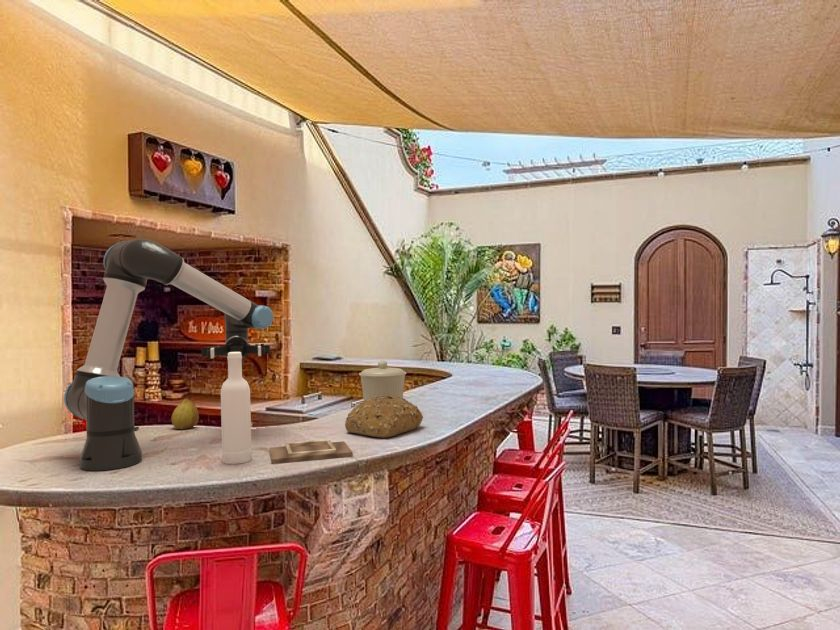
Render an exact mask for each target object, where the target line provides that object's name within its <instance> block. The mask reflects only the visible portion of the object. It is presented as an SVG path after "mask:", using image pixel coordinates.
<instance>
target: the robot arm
mask: <svg viewBox="0 0 840 630" xmlns="http://www.w3.org/2000/svg"><path fill="white" fill-rule="evenodd" d="M103 267H104V269H105V271H104V274H103V279H102V281H104V284H105V285H106V287H105V292H104V295H103V300H102V303H101V307H100V309H99V313H98V316H97V321H96V323H95V325H94V326H95V327H94V331H93V335H92V338H91V340H90V343H89V348H88V352H87V354H86V359H85V362H84V364H83V366H80V367H79V368H77V369H76V372H75V375H74V379H73V381H72V382H70V383H69V385H68V386H67V387H66V389H65V392H64V395H63V402H64V405H65V408H66V409H67V411H68V412H69V413H71V415H73V416H74V417H76V418H78V419H80V420H85V424H86V440H85V443H84V446H83V448H82V451H81V454H80V459H79V468H80V469H81V470H84V471H91V472H92V471H93V472H94V471H95V472H96V471H110V470H111V471H112V470H117V469H122V468H127V467H130V466H134V465H137V464H139V463H141V462H142V461H143V451H142V449H141V447H140V443H139V441H138V438H137V437H136V434H135V431H134V427H135V399H134V398H135V397H134V396H135V390H134V383H133V381H132V380H131V379H130V378H127V377H124V376H121V375H120V374H119V372H118V367H119V363H120V360H121V356H122V354H123V353H122V352H123V349H124V346H125V343H126V342H125V341H126V338H127V334H128V332H129V327H130V324H131V320H132V318H133V317H132V316H133V312H134V309H135V306H136V302H137V298H138V294H139V293H141V292H144V291H145V289H146V287H147V281H148V279H149V280H153V281H156V282H158V283H161V284H163V285H165V286H168V285H171V286H174V287H176V288H178V289H179V290H180V291H181V290H182V291H183V292H185V293H187V294H188V295H190V296H192V297H194V298H196V299H198V300H199V301H202V302H204V303H206V304H207V305H210V306H211V307H212V308H215V309H216V310H218V311H220V312H222V313H224V325H225V334H224V335H225V343H224V344H223V345H222V346H220V345H213V346H207V347H201V357H203V358H204V357H207V359H214V358H215V357H216V356H222V355H223V356H224V357H225V356H227V357H228V353H229V352H241V355H242V359H244V358H245V357H246V356H248V355H251V354H256V355H258V356H257V357H261V356H262V355H264V354H267V355H268V354H271V345H269V344H265V343H263V342H262V343H260V344H258V343H255V344H253V345H252V344H250V343H249V329H256V330H261V329H267V328H269V327H270V326H271V325H272V324H273V321H274V312H273V311H272V309H271V308H270V307H269V306H267V305H258V304H257V303H255V302H253V301H252V300H249V299H247V298H246V297H244V296H242V295H241V294H239V293H237V292H235V291H234V290H233V289H231V288H229V287H227V286H225V285H223V284H222V283H220V282H219V281H217V280H215V279H214V278H212V277H210V276H208V275H207V274H205V273H203V272H201V271H199V270H198V269H196V268H194V266H192V265H189V264H188V263H186V262H185V259H184V257H182V256H181V255H179V254H178V253H176V252H174V251H173V250H171V249H170V248H167V247H165V246H164V245H162V244H160V243H158V242H156V241H153V240H151V239H147V238H135V239H132V240H124V241H120V242H119V241H118V242H117V243H115V244H113V245H112V246H110V247H109V248H108V249H107V250H106V252H105V254H104V257H103Z"/></svg>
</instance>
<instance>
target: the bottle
mask: <svg viewBox="0 0 840 630" xmlns="http://www.w3.org/2000/svg"><path fill="white" fill-rule="evenodd" d="M226 358H227V371H228V372H227V373H228V374H227V378H226V380H225V381H224V382H223V383H222V385H221V388H220V416H221V417H220V419H221V420H220V421H221V424H220V425H221V458H222V459H221V460H222V463H223V464H227V465H239V464H245V463H248V462H250V461H251V460H252V454H253V452H252V451H253V447H252V419H251V417H252V415H251V409H252V408H251V388H250V385H249V383H248V381H247V379H245V378H244V377H243V372H242V371H243V367H242V366H243V363H242V360H243V358H242V355H241V352H229V353H228V356H227V357H226Z"/></svg>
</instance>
